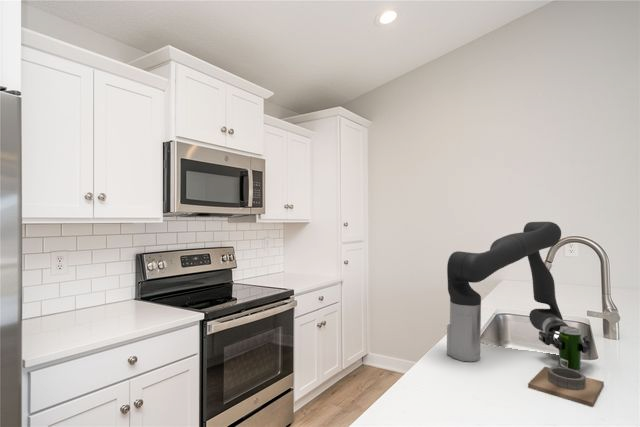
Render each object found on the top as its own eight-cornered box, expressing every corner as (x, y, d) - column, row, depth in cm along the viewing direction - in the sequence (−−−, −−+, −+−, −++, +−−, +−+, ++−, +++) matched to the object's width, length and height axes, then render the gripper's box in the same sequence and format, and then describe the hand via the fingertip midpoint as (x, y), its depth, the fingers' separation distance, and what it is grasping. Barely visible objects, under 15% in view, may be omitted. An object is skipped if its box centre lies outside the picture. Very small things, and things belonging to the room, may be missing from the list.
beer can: (575, 374, 109) (576, 332, 109) (555, 367, 114) (555, 327, 113) (583, 370, 112) (584, 329, 112) (563, 364, 116) (564, 324, 116)
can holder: (528, 387, 100) (528, 374, 100) (544, 369, 112) (544, 357, 112) (592, 406, 91) (592, 392, 91) (603, 385, 102) (603, 372, 102)
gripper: (533, 317, 129) (544, 332, 113) (582, 322, 124) (602, 338, 108) (532, 339, 129) (544, 357, 113) (582, 345, 124) (601, 364, 108)
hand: (572, 348), depth 110 cm, fingers closed on beer can, 5 cm apart
